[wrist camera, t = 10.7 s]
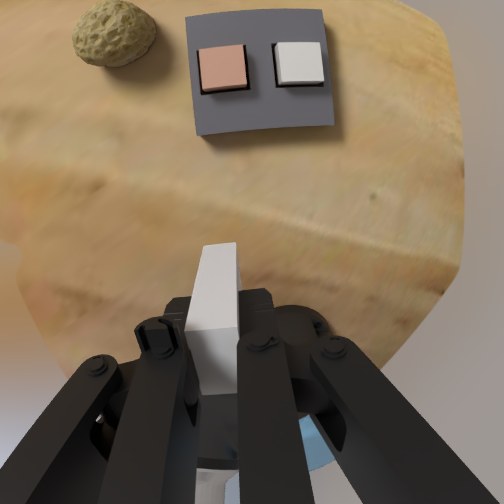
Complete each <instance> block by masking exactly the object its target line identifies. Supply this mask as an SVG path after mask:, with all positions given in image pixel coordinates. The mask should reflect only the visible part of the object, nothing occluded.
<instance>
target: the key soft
mask: <svg viewBox="0 0 504 504" xmlns="http://www.w3.org/2000/svg"><path fill="white" fill-rule="evenodd" d="M274 53H275V62H276V71H277V81H278V85H309V84H319V83H321V82H323V81H324V75H323V65H322V57H321V48H320V42H279V43H277V45H276V47H275V49H274Z"/></svg>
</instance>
